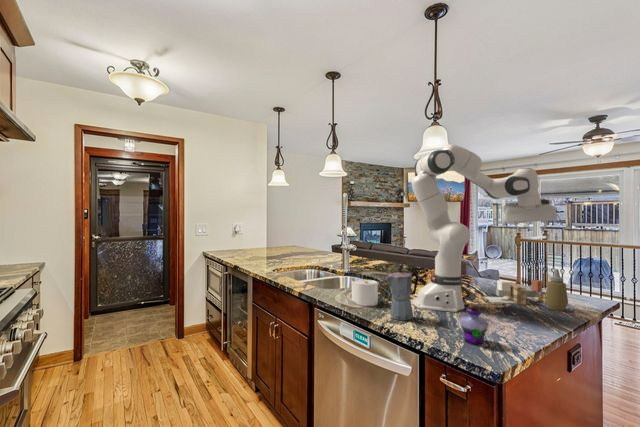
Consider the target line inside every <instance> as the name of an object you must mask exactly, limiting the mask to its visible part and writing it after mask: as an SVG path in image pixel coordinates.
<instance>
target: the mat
mask: <svg viewBox="0 0 640 427" xmlns="http://www.w3.org/2000/svg"><path fill="white" fill-rule="evenodd" d="M484 297H485V298H484V299H486V300H488V301H490V302H491V303H493V304H509V305H510V304H514V305H517V304H516V303H515V302H513V301H511V300H509V299H507V298H505V297H504V296H484Z"/></svg>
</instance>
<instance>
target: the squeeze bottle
mask: <svg viewBox="0 0 640 427" xmlns="http://www.w3.org/2000/svg"><path fill="white" fill-rule="evenodd" d="M559 270H560V269H558V268H557V269H556V268H555V269H554V271H553V275H552V276H550V277H549V281H547V284H546V290H545V292H546V298H545V300H546V303H547V304H546V305H547V308H548V309H549V310H552V311H558V312H564V311H565V310H566V308H567V306H568V304H569V298H568V291H567V285H566V283H565V282H564V277H561V275H560V271H559Z"/></svg>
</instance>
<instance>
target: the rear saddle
mask: <svg viewBox="0 0 640 427" xmlns="http://www.w3.org/2000/svg"><path fill="white" fill-rule="evenodd" d="M545 298H546V291H542V297H534V300H535V301H537V302H539V303H542V304H545V305H547V303H546V300H545Z"/></svg>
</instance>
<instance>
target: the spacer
mask: <svg viewBox="0 0 640 427" xmlns="http://www.w3.org/2000/svg"><path fill="white" fill-rule="evenodd" d="M511 282H512V281H509V280H505V279H504V280H501V279H497V281H496V284H497V285H496V289H500V290H503V291H511Z"/></svg>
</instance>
